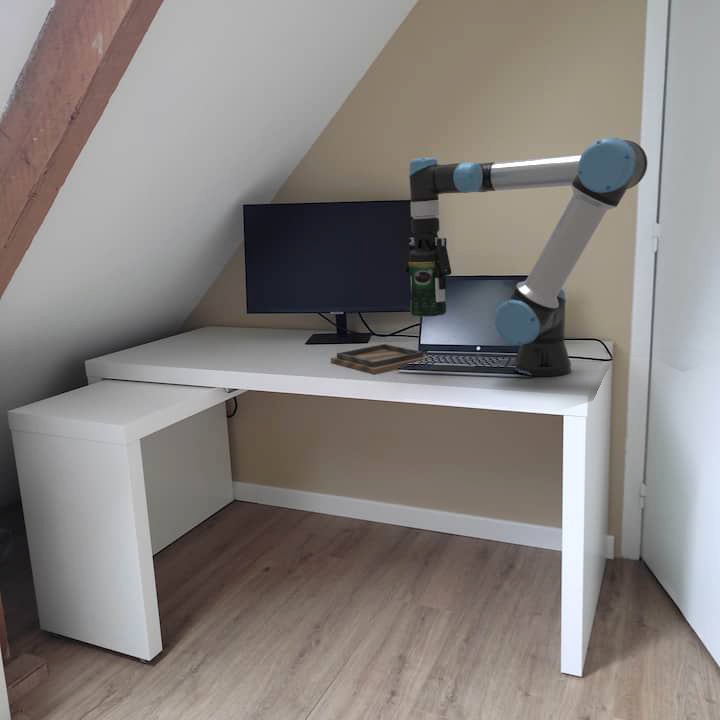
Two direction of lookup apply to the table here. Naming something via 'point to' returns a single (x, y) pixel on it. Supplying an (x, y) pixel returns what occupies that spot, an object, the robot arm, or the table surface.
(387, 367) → the wooden tray
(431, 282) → the coffee jar
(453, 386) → the table surface
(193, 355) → the table surface
